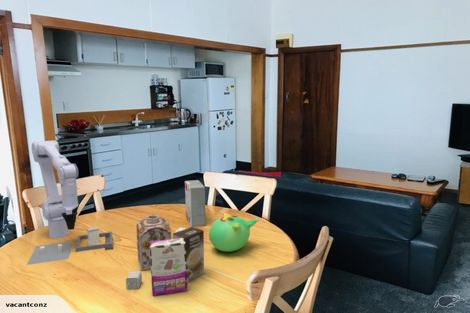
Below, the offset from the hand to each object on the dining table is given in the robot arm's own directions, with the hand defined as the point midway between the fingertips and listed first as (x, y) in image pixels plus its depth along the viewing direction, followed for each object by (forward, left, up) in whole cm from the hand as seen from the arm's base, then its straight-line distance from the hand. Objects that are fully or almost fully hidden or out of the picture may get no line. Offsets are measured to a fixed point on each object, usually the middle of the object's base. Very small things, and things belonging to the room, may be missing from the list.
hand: (71, 226), depth 143 cm
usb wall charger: (+41, +22, -10) cm, 48 cm away
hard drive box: (-14, +55, -10) cm, 58 cm away
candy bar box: (+47, +32, -10) cm, 58 cm away
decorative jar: (+25, +30, -10) cm, 40 cm away
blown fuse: (0, +8, -9) cm, 12 cm away
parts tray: (0, +8, -10) cm, 13 cm away
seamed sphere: (+11, +44, -10) cm, 47 cm away
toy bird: (+24, +61, -10) cm, 66 cm away
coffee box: (+40, +40, -10) cm, 57 cm away
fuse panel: (+4, -8, -10) cm, 13 cm away
